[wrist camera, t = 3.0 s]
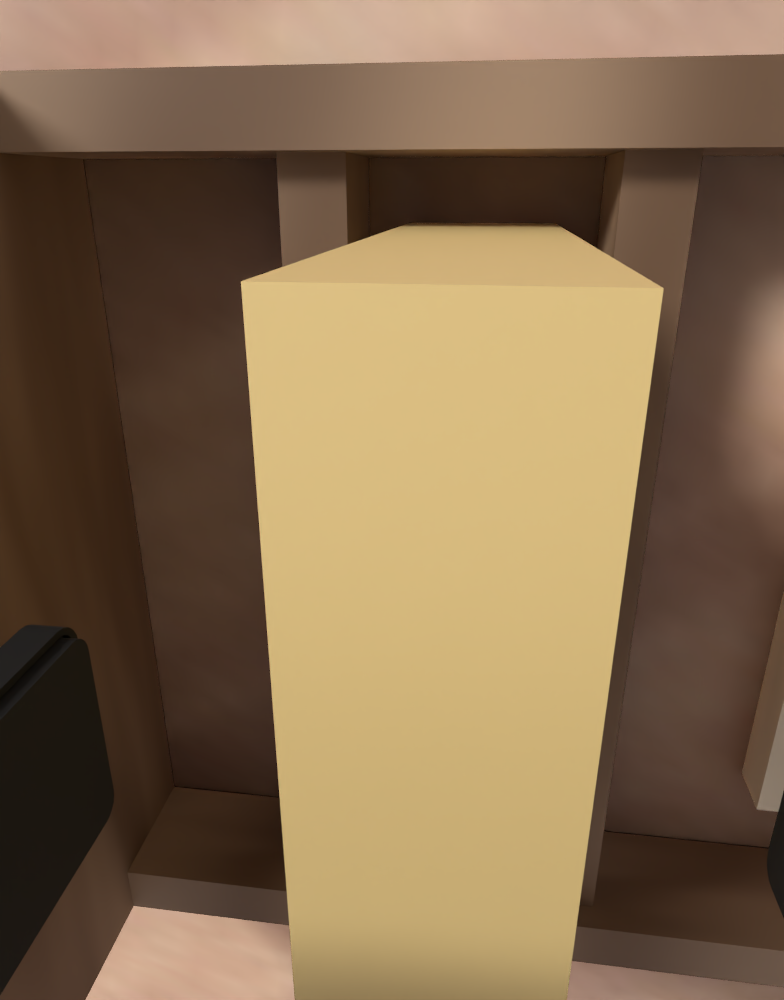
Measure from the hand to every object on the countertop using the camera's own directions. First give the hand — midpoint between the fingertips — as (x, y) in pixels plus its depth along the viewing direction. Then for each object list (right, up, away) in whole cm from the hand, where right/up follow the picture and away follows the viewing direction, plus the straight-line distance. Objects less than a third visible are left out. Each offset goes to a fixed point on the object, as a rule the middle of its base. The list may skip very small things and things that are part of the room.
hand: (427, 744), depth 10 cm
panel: (+1, +2, +5) cm, 6 cm away
